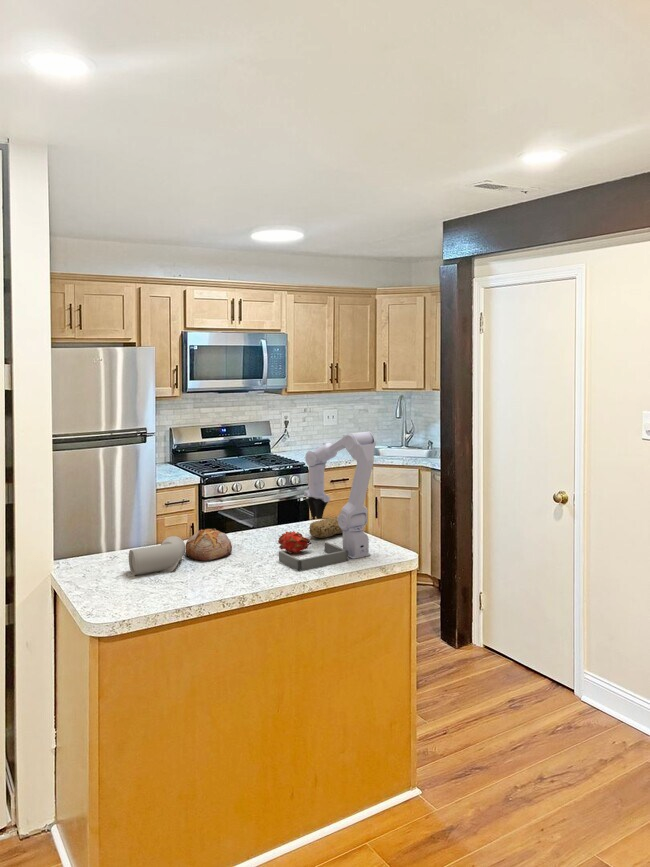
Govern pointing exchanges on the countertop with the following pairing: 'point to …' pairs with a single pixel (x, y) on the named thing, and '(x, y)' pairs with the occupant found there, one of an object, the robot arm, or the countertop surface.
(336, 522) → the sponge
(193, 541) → the bread
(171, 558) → the l-shaped cylinder
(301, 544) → the dragon fruit
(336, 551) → the box
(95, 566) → the countertop surface
